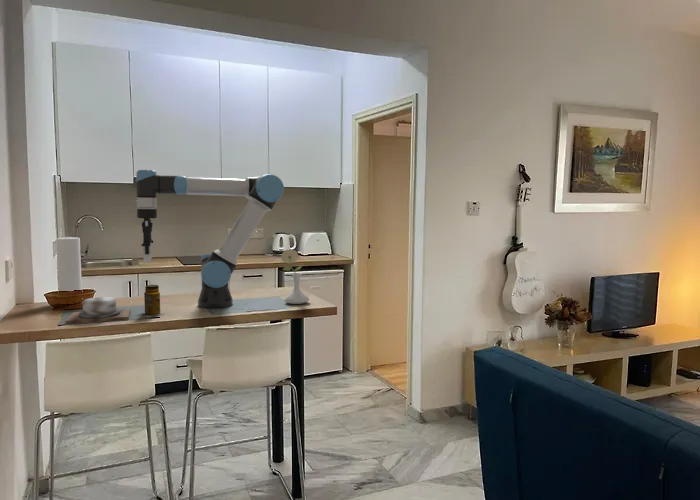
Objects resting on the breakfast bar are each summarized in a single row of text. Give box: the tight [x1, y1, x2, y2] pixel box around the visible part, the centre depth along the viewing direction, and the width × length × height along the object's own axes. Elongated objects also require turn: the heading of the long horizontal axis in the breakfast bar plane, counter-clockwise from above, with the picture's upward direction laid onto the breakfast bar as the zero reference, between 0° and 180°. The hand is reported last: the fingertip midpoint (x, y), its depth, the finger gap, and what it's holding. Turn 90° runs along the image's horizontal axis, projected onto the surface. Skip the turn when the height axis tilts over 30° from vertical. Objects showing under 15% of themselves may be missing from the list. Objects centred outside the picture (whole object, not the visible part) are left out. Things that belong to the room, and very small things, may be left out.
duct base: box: [65, 296, 132, 325], centre depth 211 cm, size 22×15×7 cm
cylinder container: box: [55, 236, 83, 292], centre depth 239 cm, size 9×9×30 cm
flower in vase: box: [280, 248, 310, 305], centre depth 241 cm, size 13×11×25 cm
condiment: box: [136, 284, 165, 318], centre depth 217 cm, size 7×8×12 cm
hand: (147, 260), depth 215 cm, fingers open, 13 cm apart
